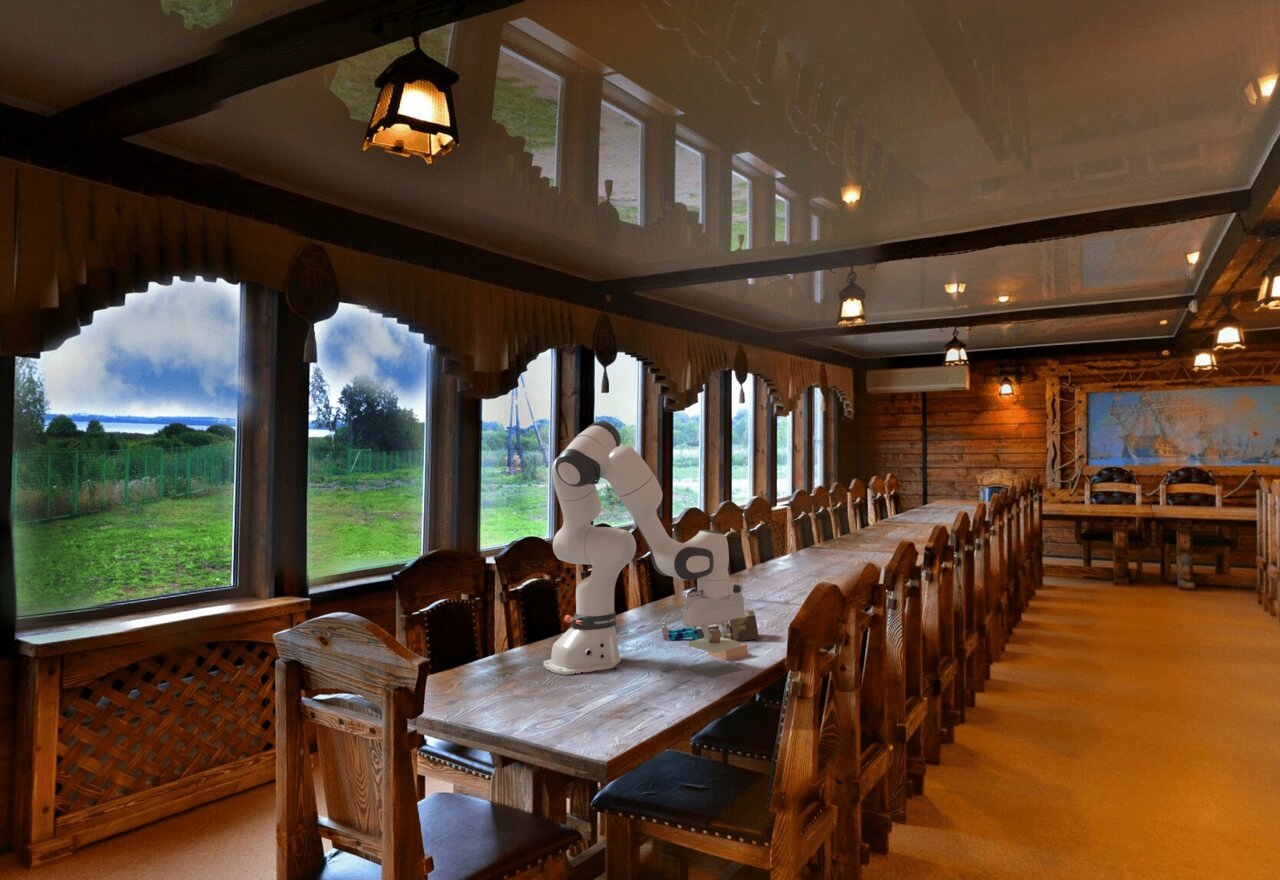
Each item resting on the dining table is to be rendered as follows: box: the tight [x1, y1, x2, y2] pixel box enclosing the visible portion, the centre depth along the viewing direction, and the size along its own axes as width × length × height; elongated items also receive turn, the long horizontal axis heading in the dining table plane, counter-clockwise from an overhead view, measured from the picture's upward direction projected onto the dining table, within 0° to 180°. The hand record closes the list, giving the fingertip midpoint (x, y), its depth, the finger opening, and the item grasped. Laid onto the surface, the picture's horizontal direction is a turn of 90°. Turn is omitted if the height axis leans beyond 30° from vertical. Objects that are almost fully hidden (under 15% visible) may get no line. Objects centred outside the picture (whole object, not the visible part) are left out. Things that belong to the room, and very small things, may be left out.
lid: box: [688, 629, 741, 653], centre depth 212 cm, size 10×10×4 cm
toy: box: [661, 609, 760, 642], centre depth 247 cm, size 26×8×30 cm
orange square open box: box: [707, 642, 748, 661], centre depth 223 cm, size 8×8×4 cm
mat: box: [683, 659, 746, 679], centre depth 210 cm, size 12×12×1 cm
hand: (714, 638), depth 212 cm, fingers closed on lid, 3 cm apart
